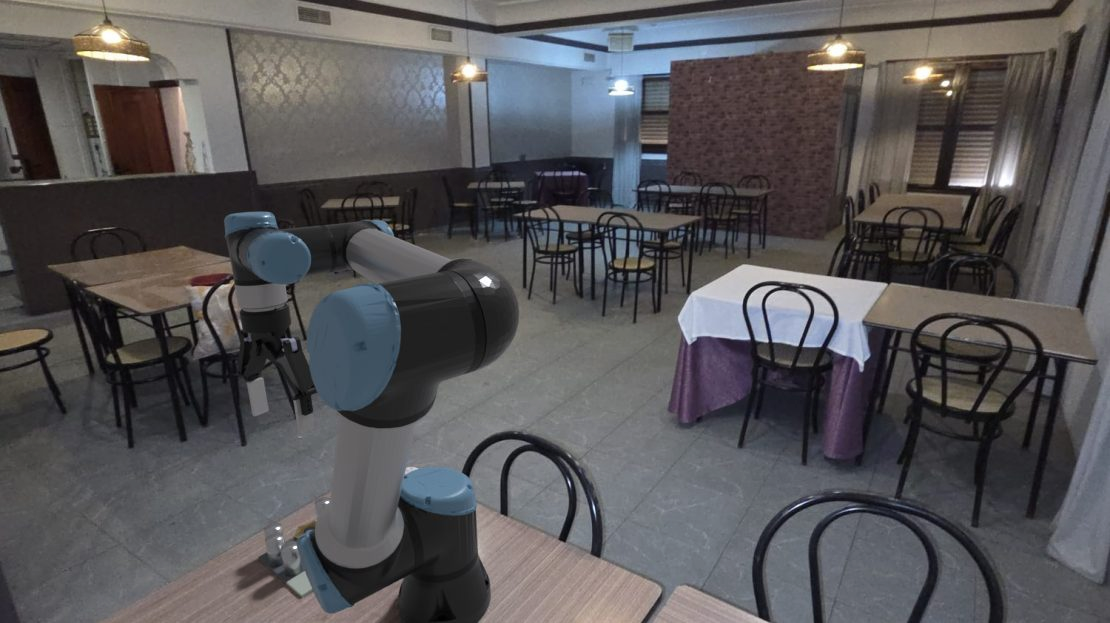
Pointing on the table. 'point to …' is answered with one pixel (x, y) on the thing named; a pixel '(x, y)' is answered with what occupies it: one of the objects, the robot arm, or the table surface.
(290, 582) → the mat
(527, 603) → the table surface
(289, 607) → the table surface
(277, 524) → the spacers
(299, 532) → the nut
